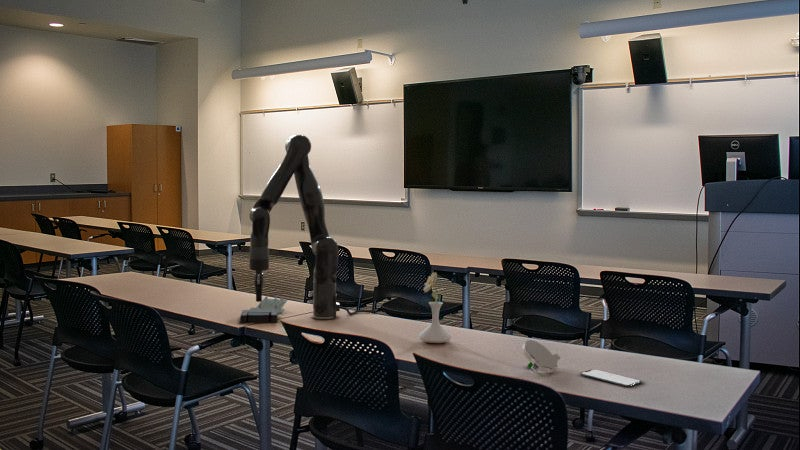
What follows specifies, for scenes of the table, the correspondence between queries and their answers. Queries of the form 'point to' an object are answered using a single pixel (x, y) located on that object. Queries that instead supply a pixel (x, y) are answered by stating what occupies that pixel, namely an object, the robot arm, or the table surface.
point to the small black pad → (258, 318)
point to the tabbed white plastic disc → (539, 357)
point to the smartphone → (611, 377)
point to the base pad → (271, 312)
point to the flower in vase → (434, 318)
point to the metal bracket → (271, 304)
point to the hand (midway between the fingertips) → (258, 301)
